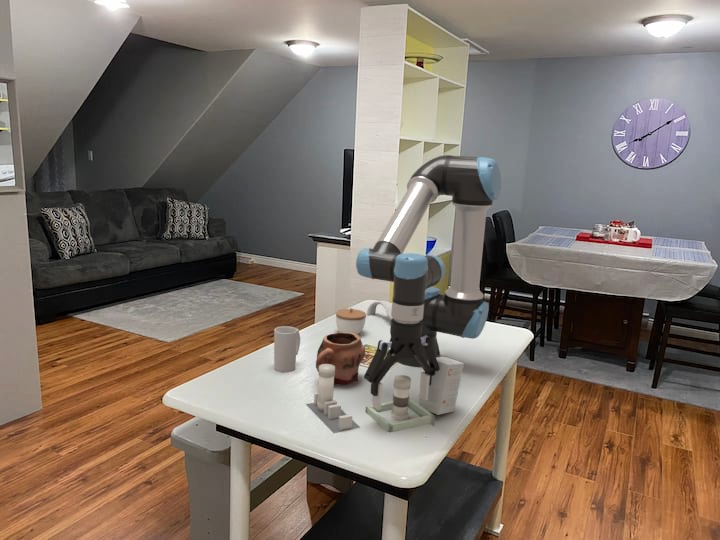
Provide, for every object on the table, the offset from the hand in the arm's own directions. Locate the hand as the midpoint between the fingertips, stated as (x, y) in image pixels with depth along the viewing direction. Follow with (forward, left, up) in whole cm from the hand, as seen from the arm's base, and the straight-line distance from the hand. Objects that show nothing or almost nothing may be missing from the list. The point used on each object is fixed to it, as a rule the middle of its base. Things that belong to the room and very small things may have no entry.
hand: (400, 402), depth 138 cm
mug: (+12, -43, -5) cm, 45 cm away
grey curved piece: (-42, -72, -6) cm, 83 cm away
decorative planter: (+4, -26, -5) cm, 27 cm away
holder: (+15, -7, -5) cm, 17 cm away
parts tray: (0, 0, -5) cm, 5 cm away
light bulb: (0, 0, -5) cm, 5 cm away
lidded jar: (-20, -64, -5) cm, 67 cm away
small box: (-12, -1, -5) cm, 13 cm away
